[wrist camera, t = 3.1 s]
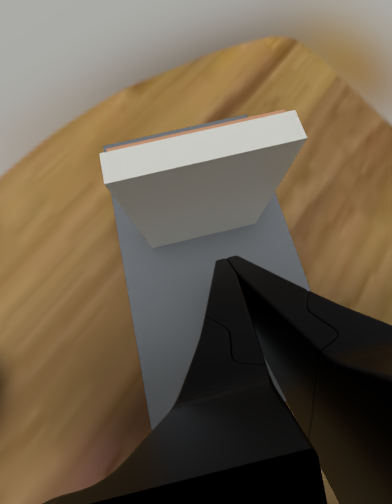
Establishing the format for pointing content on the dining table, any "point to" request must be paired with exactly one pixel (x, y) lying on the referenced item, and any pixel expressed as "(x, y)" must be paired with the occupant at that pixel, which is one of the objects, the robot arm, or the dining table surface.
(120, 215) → the mat
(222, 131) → the tile
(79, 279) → the dining table surface
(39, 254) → the dining table surface
